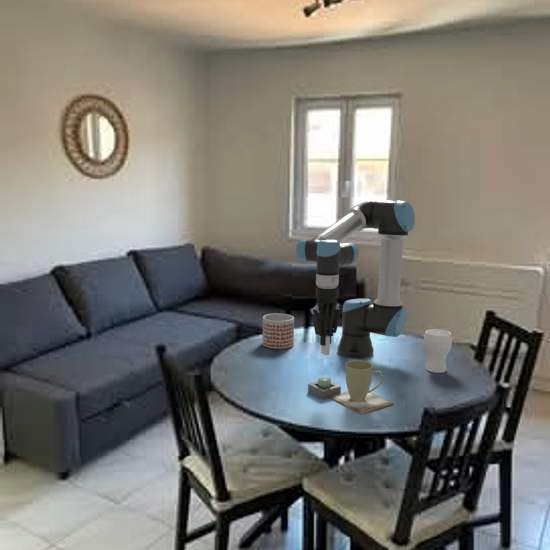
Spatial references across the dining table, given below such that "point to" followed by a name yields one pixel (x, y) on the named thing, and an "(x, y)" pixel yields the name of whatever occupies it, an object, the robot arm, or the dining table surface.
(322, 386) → the button
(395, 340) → the dining table surface
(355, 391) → the mug
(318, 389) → the button housing
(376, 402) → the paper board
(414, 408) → the dining table surface
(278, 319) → the planter
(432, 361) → the cup
